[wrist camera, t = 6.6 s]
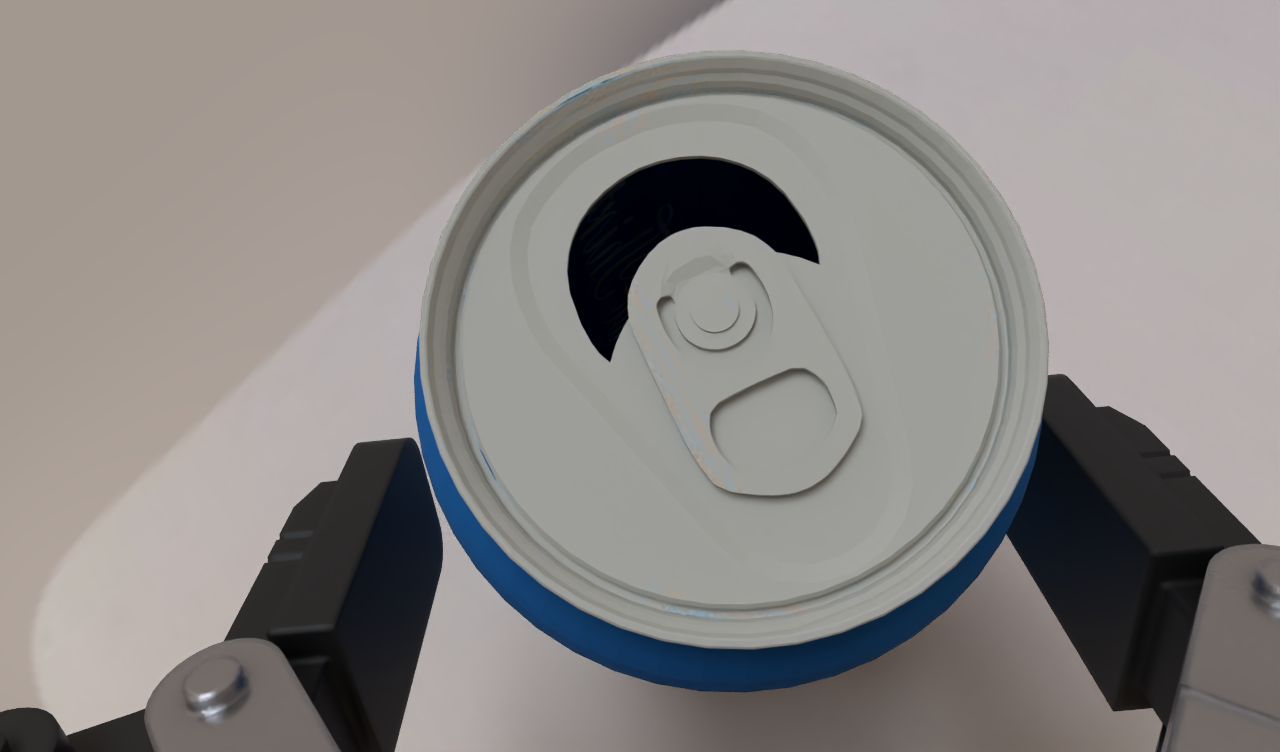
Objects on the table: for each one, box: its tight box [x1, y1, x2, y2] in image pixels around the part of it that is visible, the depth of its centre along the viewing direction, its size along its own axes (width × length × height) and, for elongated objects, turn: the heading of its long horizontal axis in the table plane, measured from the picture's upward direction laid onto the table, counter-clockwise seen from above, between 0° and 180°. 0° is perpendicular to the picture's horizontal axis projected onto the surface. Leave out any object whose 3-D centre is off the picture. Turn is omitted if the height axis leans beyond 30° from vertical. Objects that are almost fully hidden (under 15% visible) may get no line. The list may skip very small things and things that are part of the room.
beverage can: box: [414, 51, 1049, 692], centre depth 14 cm, size 6×6×12 cm
